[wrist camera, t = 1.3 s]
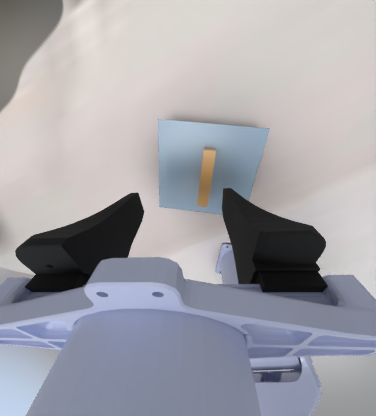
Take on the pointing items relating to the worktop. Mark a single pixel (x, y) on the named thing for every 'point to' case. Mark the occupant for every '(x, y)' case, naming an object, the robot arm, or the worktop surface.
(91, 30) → the worktop surface
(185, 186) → the lid
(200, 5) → the worktop surface
